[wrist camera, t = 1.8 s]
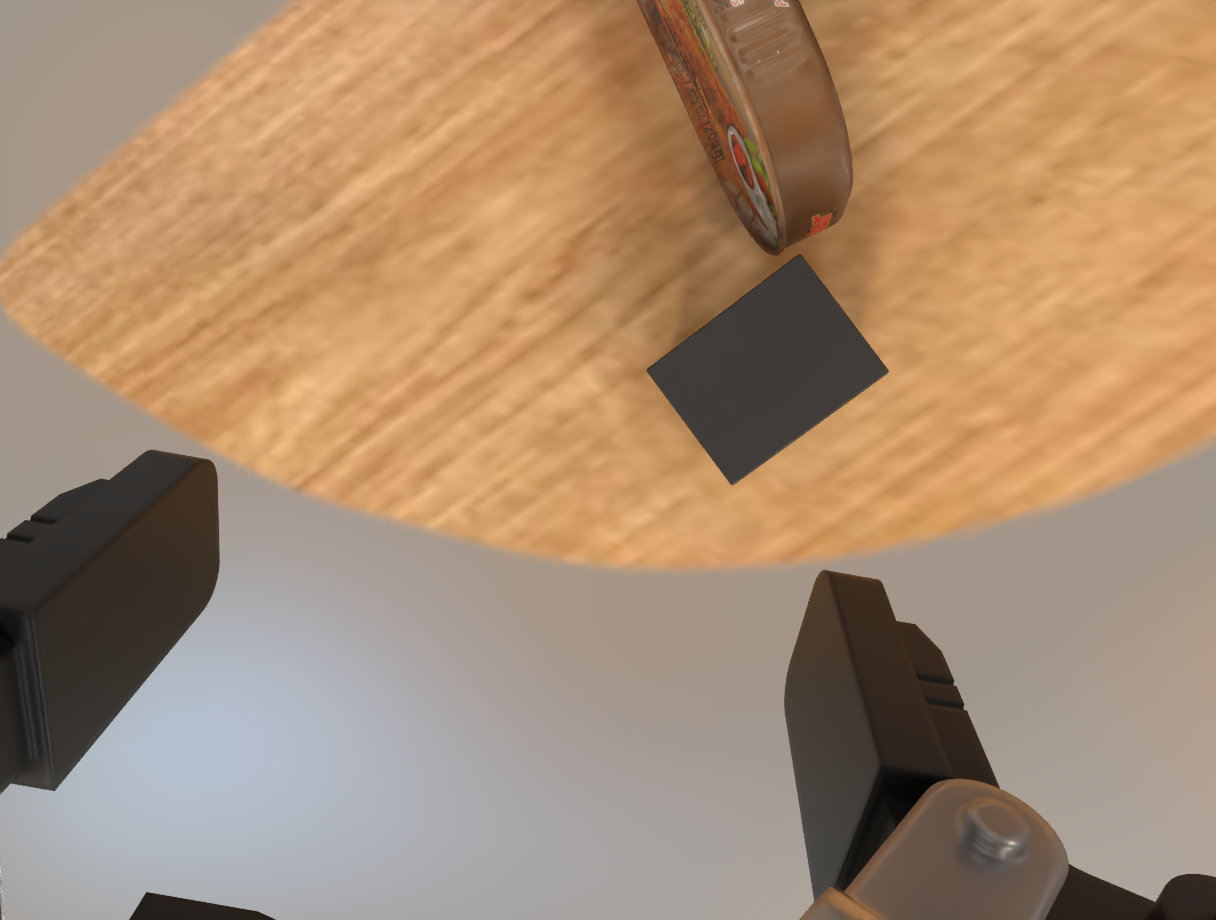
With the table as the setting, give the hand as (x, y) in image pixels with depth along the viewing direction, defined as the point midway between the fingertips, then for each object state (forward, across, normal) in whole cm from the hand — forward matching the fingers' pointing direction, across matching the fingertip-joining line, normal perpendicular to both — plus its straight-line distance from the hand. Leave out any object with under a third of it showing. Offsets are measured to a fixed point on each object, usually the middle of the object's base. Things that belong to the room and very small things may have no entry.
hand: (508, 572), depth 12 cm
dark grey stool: (+21, -6, +4) cm, 22 cm away
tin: (+25, -2, -6) cm, 26 cm away
